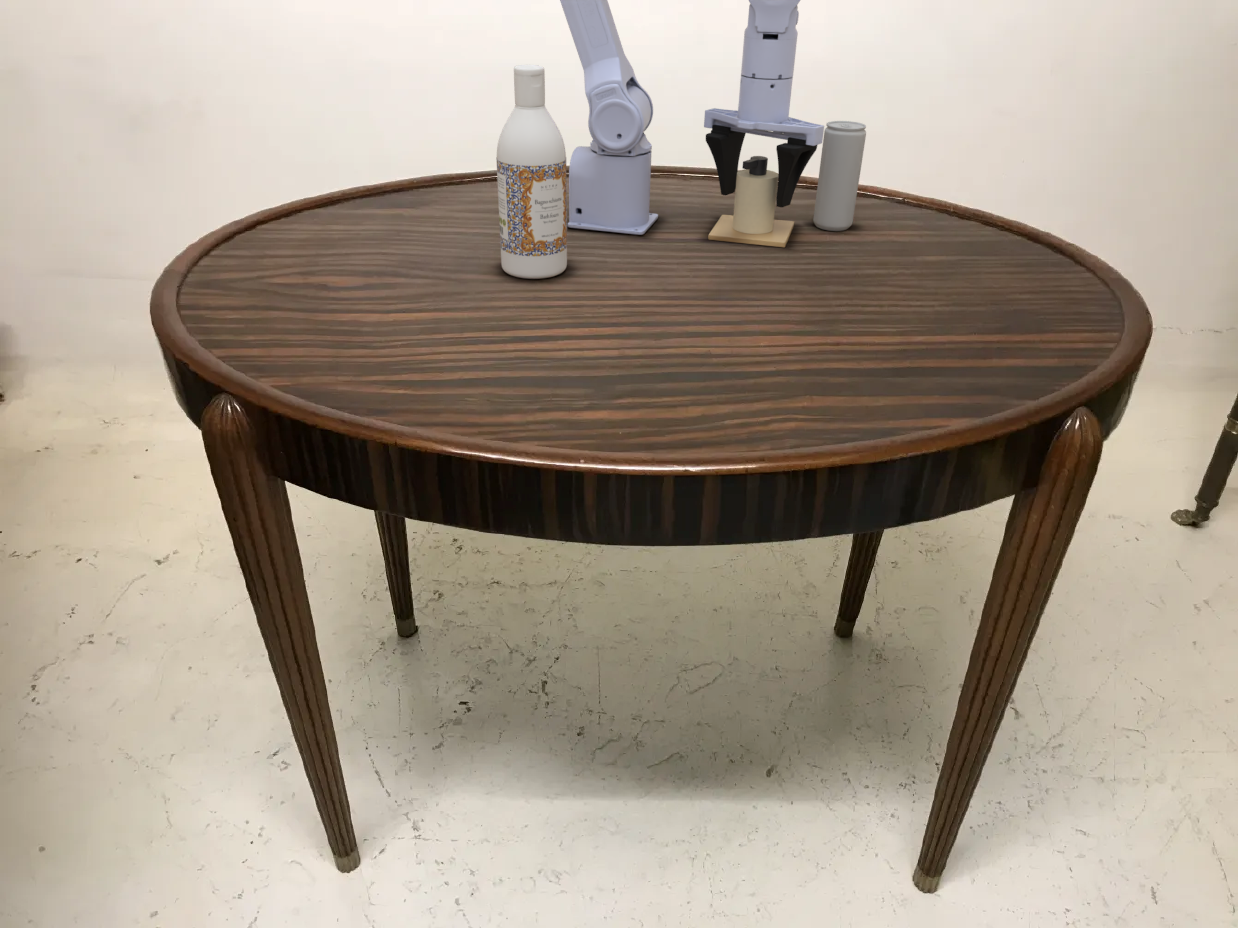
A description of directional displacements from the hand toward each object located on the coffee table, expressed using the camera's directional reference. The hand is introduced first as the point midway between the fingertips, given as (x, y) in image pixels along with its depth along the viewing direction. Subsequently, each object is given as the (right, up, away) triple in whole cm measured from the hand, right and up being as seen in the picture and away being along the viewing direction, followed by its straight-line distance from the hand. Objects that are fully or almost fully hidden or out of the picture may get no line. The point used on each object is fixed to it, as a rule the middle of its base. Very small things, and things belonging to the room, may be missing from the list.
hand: (755, 199), depth 110 cm
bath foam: (-25, -11, -11) cm, 29 cm away
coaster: (0, -3, +2) cm, 4 cm away
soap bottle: (0, -3, +2) cm, 3 cm away
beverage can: (+10, -2, +5) cm, 12 cm away
